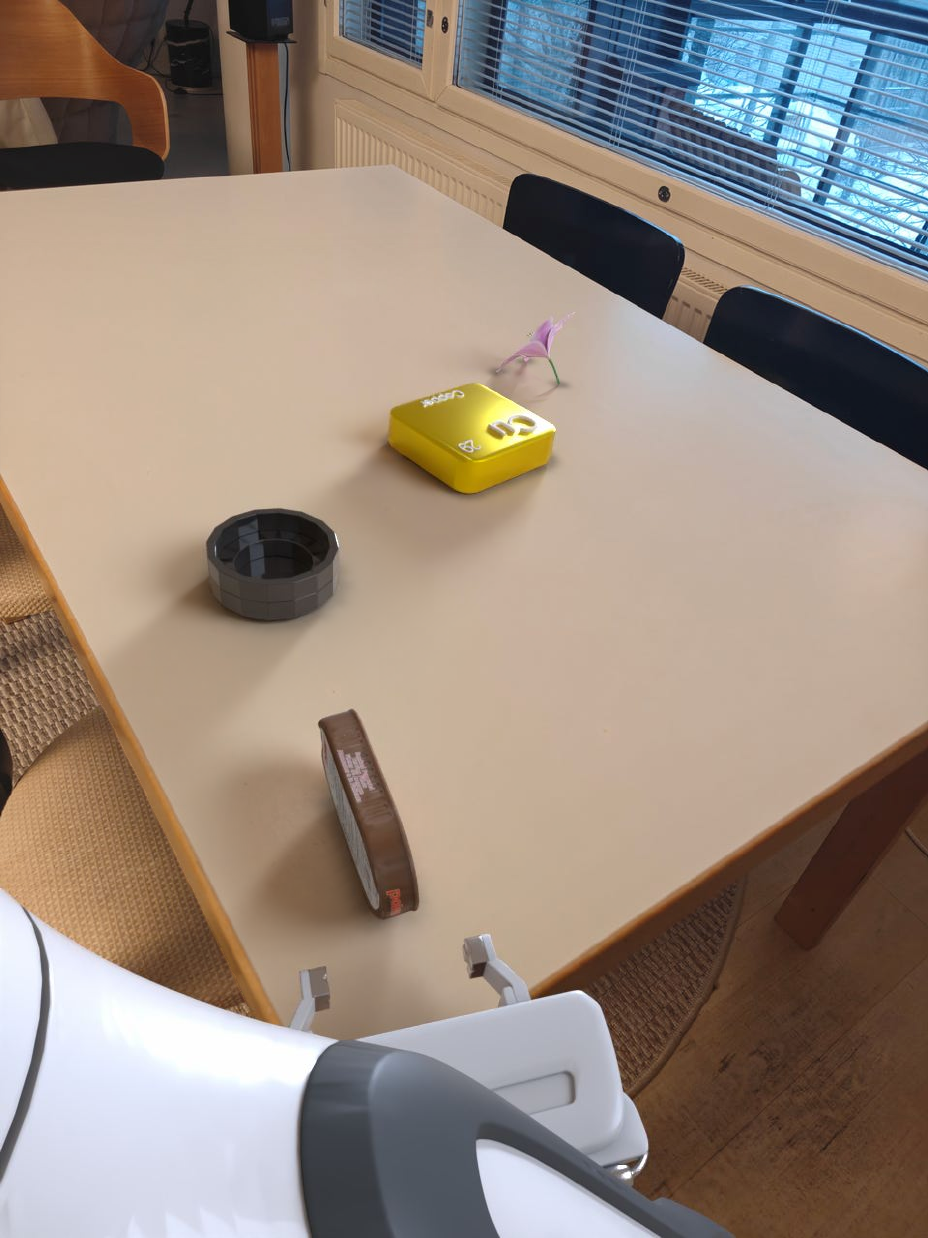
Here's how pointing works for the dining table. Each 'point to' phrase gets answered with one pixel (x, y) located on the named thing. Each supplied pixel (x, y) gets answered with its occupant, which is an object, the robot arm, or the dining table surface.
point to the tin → (368, 817)
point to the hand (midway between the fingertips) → (395, 956)
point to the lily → (539, 343)
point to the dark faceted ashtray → (273, 563)
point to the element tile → (470, 437)
